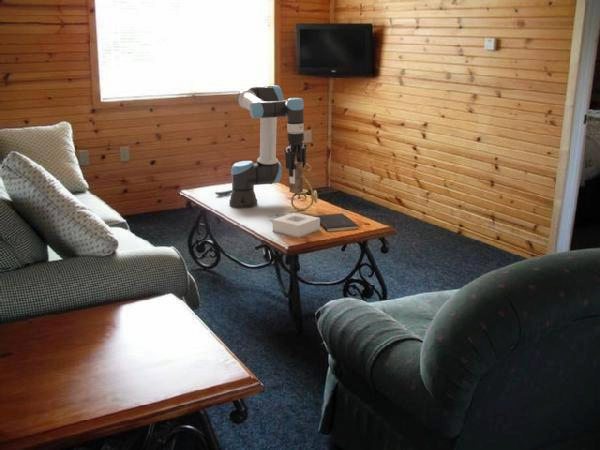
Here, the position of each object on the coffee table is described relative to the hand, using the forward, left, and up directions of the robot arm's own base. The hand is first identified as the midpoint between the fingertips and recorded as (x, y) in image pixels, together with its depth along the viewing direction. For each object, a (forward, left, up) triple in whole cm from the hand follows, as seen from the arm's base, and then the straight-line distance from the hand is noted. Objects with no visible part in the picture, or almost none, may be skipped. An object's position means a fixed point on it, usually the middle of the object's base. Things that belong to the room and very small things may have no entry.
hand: (296, 182), depth 328 cm
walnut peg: (0, 0, -5) cm, 5 cm away
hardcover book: (-21, +7, -25) cm, 33 cm away
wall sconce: (-31, -21, -24) cm, 45 cm away
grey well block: (0, 0, -24) cm, 24 cm away
